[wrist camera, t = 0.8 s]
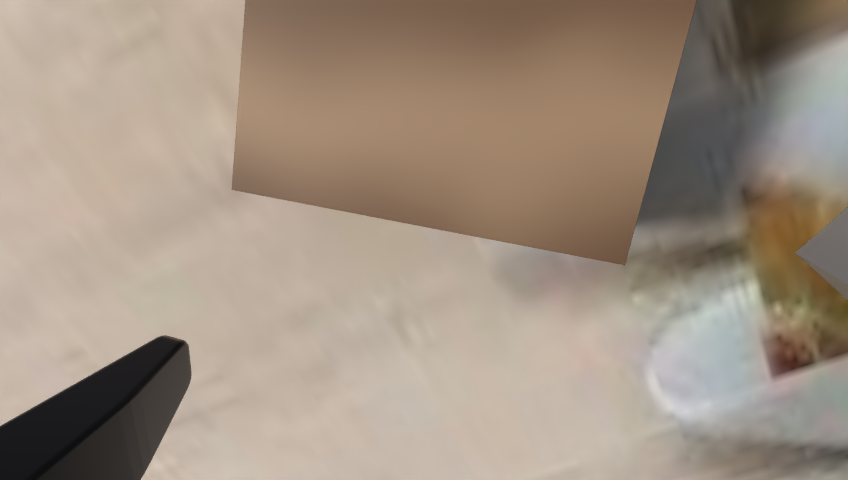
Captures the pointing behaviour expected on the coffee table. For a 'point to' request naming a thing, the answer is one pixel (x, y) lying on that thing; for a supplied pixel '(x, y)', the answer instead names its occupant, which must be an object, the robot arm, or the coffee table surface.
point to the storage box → (830, 253)
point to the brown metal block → (462, 112)
